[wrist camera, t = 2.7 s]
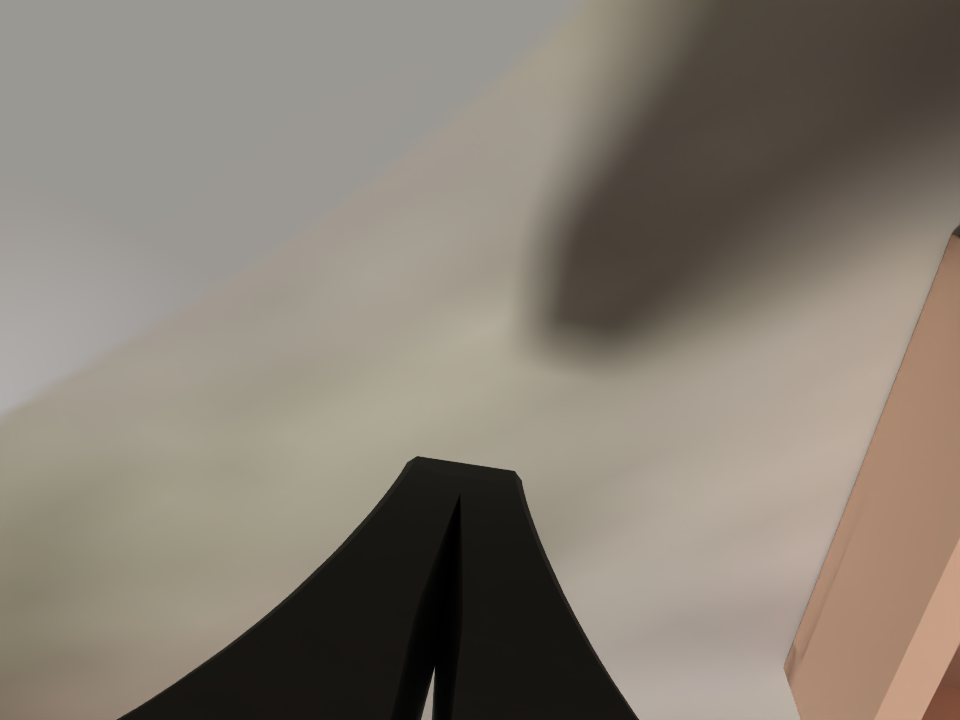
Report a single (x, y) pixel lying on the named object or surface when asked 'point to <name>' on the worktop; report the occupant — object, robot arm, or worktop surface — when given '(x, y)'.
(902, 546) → the peach open box
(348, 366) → the worktop surface
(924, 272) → the worktop surface
